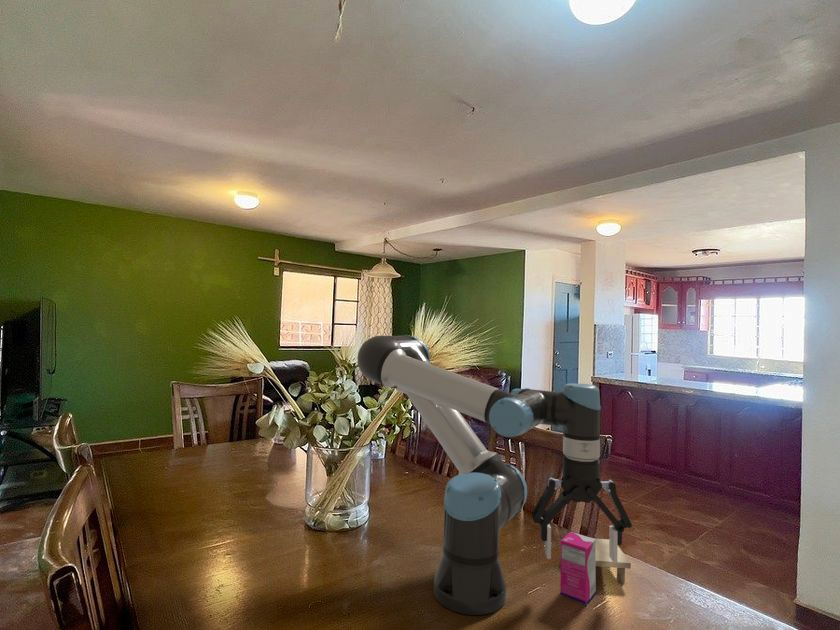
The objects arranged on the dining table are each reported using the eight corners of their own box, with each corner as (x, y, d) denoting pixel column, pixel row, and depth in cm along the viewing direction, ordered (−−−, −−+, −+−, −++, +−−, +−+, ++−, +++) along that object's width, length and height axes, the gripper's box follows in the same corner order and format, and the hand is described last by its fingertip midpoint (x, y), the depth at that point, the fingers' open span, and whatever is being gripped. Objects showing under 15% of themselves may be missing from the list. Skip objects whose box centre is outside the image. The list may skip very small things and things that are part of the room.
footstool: (579, 582, 101) (579, 559, 101) (567, 557, 112) (567, 536, 112) (630, 586, 100) (630, 563, 100) (613, 560, 111) (613, 539, 111)
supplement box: (569, 582, 100) (570, 530, 101) (596, 593, 97) (597, 539, 97) (558, 594, 96) (560, 539, 96) (586, 605, 92) (588, 548, 92)
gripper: (524, 459, 94) (523, 563, 94) (648, 464, 92) (648, 570, 91) (519, 449, 102) (518, 545, 101) (634, 454, 100) (634, 552, 99)
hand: (580, 557), depth 96 cm, fingers open, 13 cm apart
